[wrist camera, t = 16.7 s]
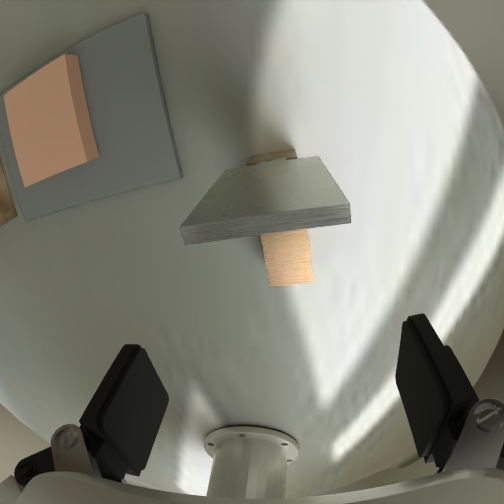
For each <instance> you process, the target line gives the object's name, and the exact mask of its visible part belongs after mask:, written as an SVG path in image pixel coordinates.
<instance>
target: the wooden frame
mask: <svg viewBox="0 0 504 504" xmlns="http://www.w3.org/2000/svg"><path fill="white" fill-rule="evenodd" d="M16 216H17V213H16V211H15V208H14V205H13V202H12V199H11V196H10V192H9V189H8V186H7V182H6V179H5V176H4V172H3V168H2V164H1V161H0V226H2V225H3V224H5V223H6V222H8V221H10V220H11V219H13V218H14V217H16Z"/></svg>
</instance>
